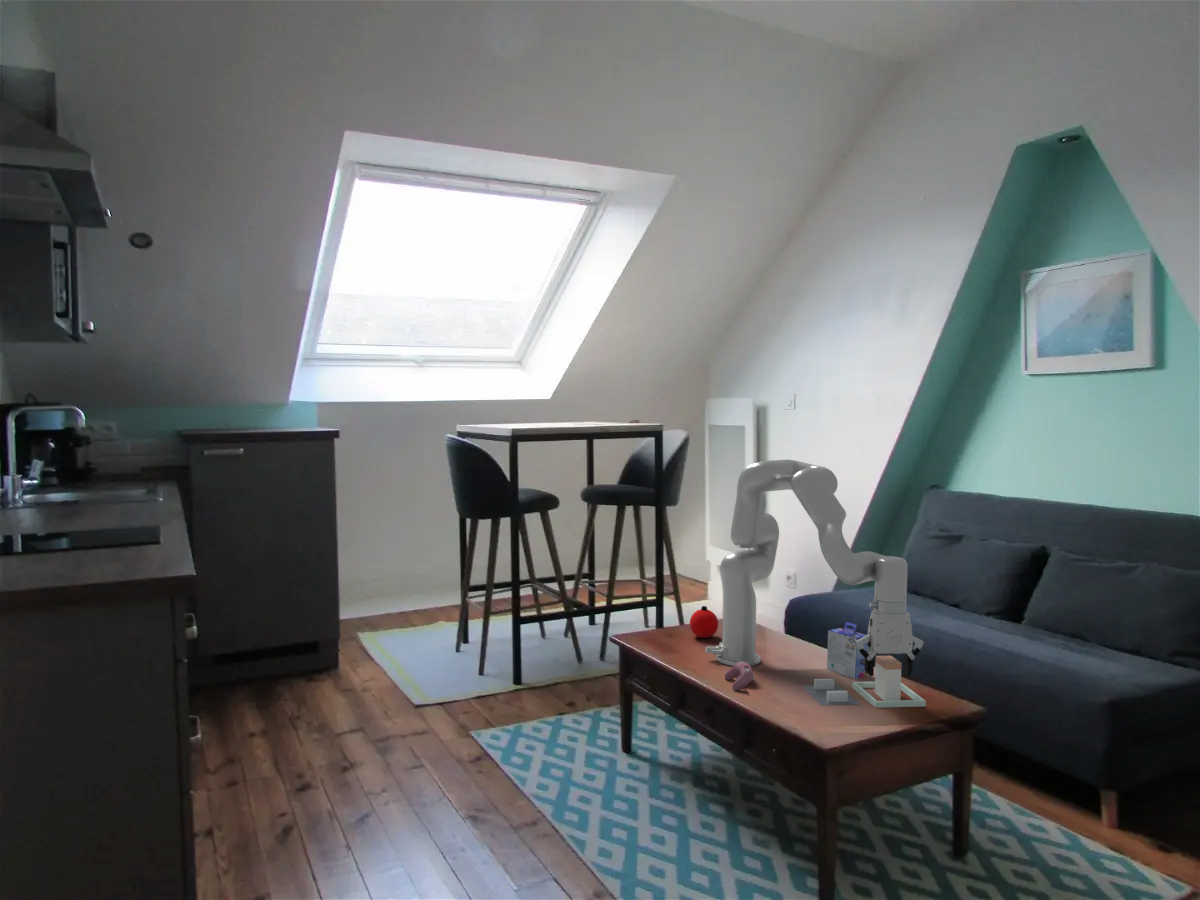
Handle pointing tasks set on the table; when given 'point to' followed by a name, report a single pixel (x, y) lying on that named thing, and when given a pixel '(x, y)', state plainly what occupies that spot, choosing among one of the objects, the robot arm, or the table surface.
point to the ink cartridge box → (845, 652)
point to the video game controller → (740, 675)
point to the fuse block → (829, 693)
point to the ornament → (704, 623)
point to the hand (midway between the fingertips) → (888, 674)
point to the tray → (915, 702)
